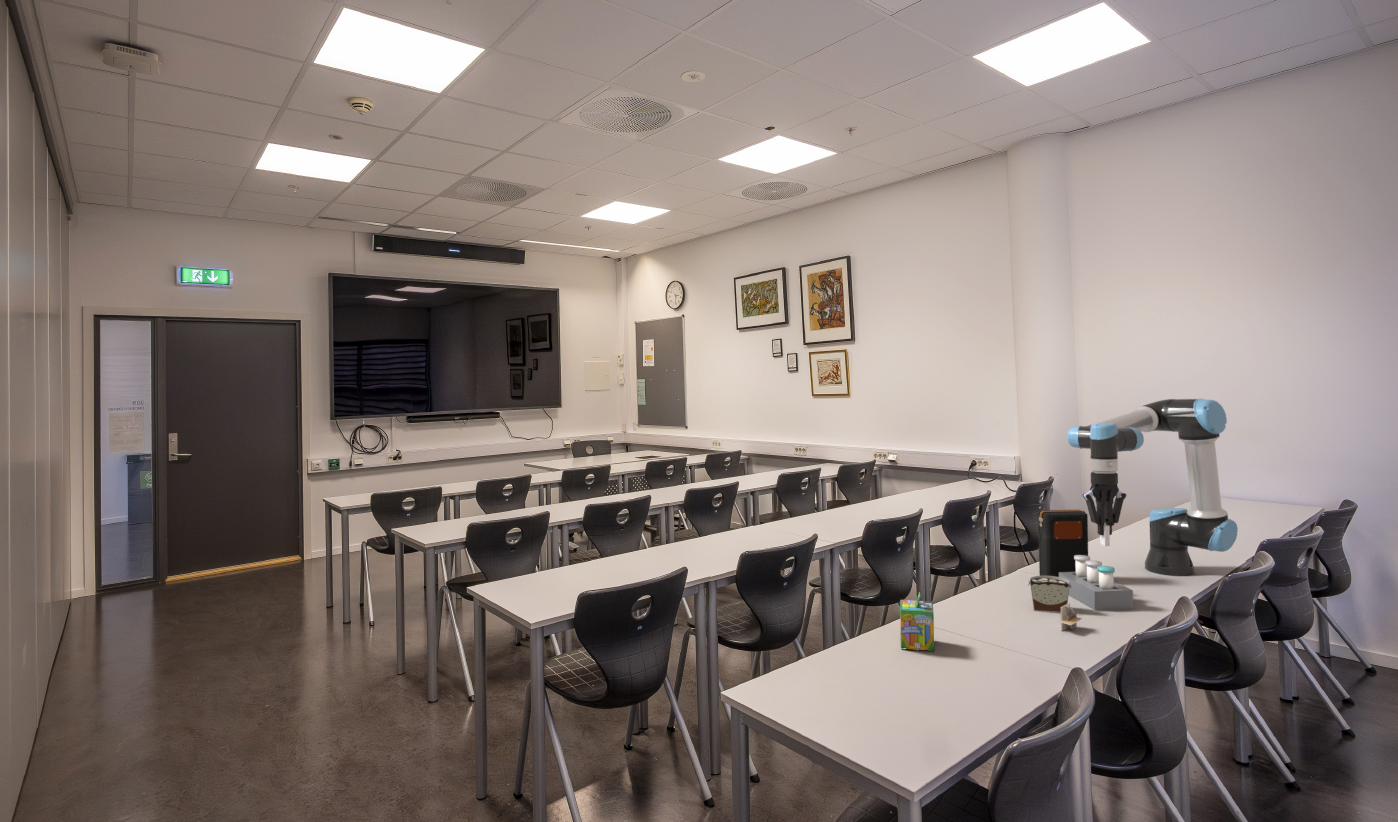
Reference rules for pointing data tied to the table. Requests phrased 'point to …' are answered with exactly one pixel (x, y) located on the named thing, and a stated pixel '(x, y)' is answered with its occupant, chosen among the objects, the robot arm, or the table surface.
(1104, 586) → the teal plug
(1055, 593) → the food container
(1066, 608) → the architectural model
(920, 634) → the chalk box
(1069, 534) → the voltmeter
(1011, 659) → the table surface
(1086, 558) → the grey plug end
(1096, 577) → the grey plug middle
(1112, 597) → the panel
